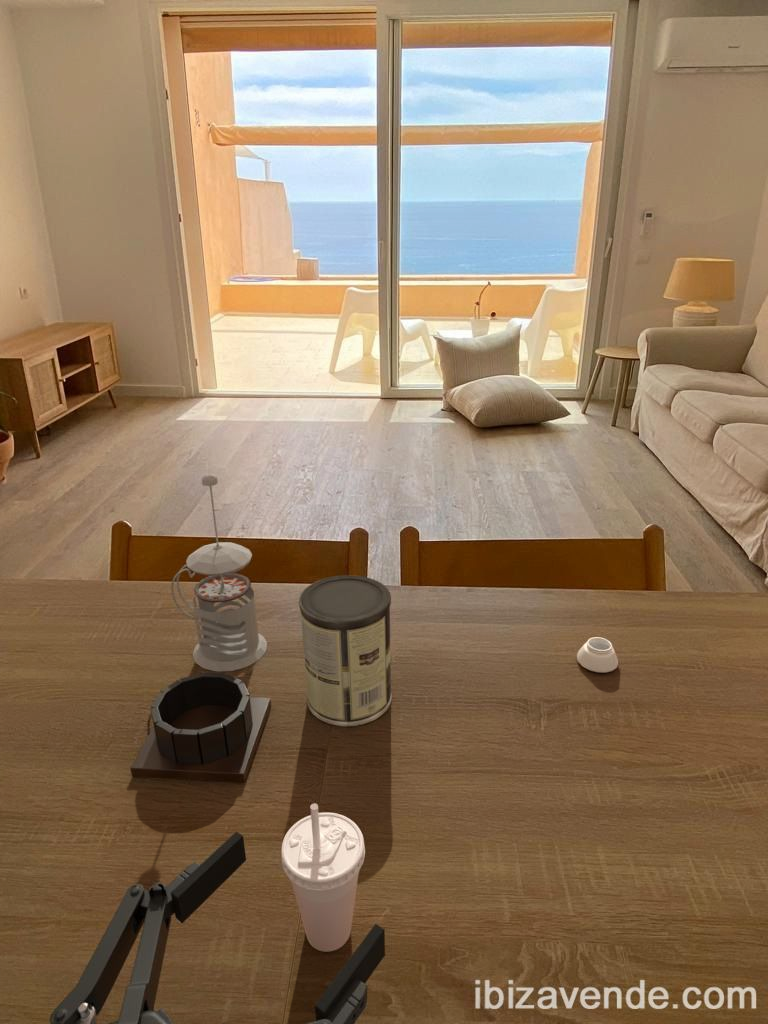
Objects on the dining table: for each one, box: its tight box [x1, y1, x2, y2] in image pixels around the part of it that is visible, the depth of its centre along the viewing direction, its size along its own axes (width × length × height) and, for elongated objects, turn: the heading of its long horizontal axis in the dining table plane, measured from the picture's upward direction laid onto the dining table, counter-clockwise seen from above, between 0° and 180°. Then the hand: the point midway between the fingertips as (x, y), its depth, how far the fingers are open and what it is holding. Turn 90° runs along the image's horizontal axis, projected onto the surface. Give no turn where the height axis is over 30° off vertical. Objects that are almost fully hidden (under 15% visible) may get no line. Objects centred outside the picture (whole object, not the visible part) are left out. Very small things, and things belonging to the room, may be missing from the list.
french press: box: [170, 473, 268, 673], centre depth 88 cm, size 10×12×25 cm
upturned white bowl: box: [576, 636, 619, 673], centre depth 89 cm, size 5×3×5 cm
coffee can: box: [298, 574, 393, 727], centre depth 80 cm, size 10×10×14 cm
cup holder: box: [130, 671, 272, 783], centre depth 76 cm, size 12×12×5 cm
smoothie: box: [281, 803, 366, 953], centre depth 54 cm, size 6×6×14 cm
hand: (306, 888), depth 52 cm, fingers open, 13 cm apart
